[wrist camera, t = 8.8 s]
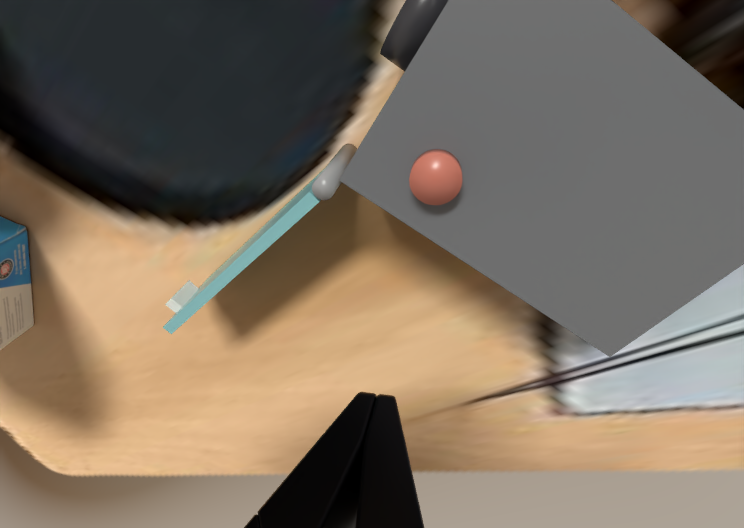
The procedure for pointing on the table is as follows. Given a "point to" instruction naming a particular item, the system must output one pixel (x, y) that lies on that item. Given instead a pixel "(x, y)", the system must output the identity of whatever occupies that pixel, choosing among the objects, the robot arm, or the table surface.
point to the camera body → (560, 158)
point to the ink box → (14, 282)
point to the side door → (260, 240)
